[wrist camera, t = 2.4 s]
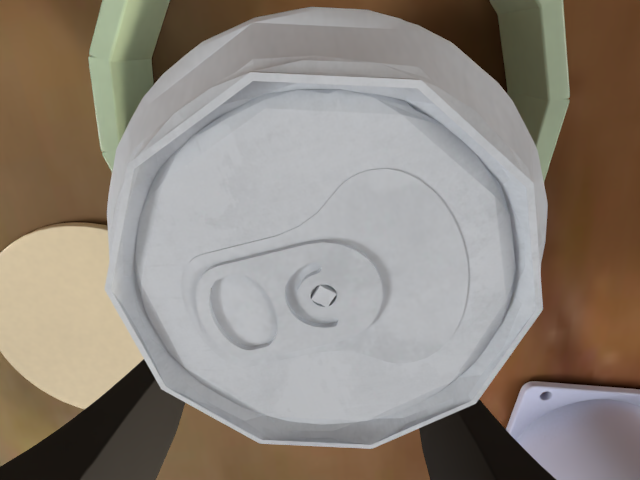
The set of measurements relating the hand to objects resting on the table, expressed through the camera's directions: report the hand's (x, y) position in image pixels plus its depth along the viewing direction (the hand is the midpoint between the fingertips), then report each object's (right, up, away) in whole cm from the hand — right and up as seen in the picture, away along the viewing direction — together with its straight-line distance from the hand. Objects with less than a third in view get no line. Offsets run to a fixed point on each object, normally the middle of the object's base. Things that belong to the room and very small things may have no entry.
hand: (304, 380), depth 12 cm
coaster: (-9, 0, +6) cm, 11 cm away
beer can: (+1, +9, +3) cm, 9 cm away
